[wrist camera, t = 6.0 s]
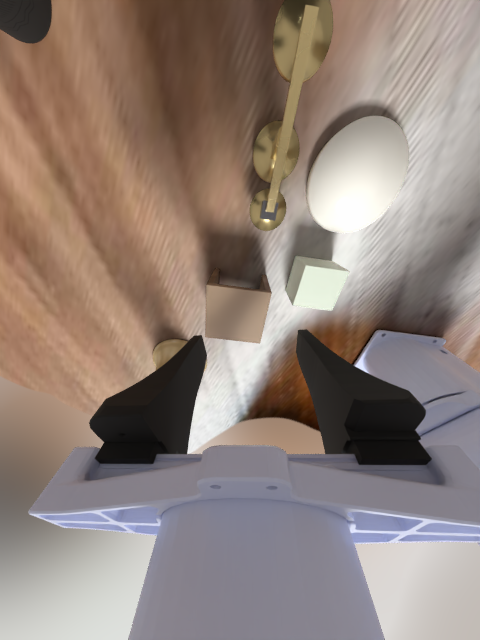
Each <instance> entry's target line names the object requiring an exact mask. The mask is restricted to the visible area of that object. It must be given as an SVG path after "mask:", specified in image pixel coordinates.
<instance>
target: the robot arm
mask: <svg viewBox="0 0 480 640" xmlns="http://www.w3.org/2000/svg"><path fill="white" fill-rule="evenodd" d="M445 342H446V340H445V339H444V338H440V337H432V336H424V335H416V334H409V333H401V332H393V331H385V330H377V331H376V332H375V333H374V335H373V336H372V338H371V339H370V341H369V342H368V344H367V345H366V347H365V348H364V350H363V351H362V353H361V354H360V356H359V357H358V359H357V360H356V362H355V363H354V365H352V364H350V363H349V362H347V361H346V360H344V359H342V358H341V357H339V356H338V355H337V354H335V353H334V352H333V351H331V350H330V349H329V348H327V347H326V346H325V345H324V344H322V343H321V342H320V341H319V340H318V339H317V338H316V337H314V336H313V335H312V334H311V333H310V332H309V331H308V330H298V337H297V347H296V353H297V357H298V361H299V365H300V367H301V370H302V373H303V375H304V378H305V380H306V383H307V385H308V388H309V391H310V394H311V397H312V400H313V404H314V408H315V411H316V415H317V419H318V423H319V427H320V432H321V436H322V440H323V445H324V449H325V454H286V452H285V451H284V450H283V449H281V448H279V447H276V446H269V445H219V446H212V447H209V448H207V449H206V450H204V451H203V454H187V450H188V442H189V435H190V428H191V422H192V416H193V411H194V405H195V400H196V396H197V392H198V389H199V386H200V383H201V379H202V376H203V373H204V369H205V365H206V358H207V354H206V350H205V346H204V342H203V338H202V335H199V336H193V337H192V338H191V339H190V340H189V341H188V342H187V343H186V344H185V345H184V346H183V347H182V348H181V349H180V350H179V351H178V352H177V353H176V354H175V355H174V356H173V357H172V358H171V359H170V360H169V361H168V362H166V363H165V364H164V365H163V366H161V367H160V368H159V369H157V370H156V371H155V372H153V373H152V374H150V375H149V376H147V377H146V378H144V379H143V380H141V381H140V382H138V383H136V384H135V385H133V386H131V387H129V388H127V389H125V390H124V391H122V392H120V393H117V394H115V395H113V396H111V397H109V398H107V399H106V400H105V401H104V402H103V404H102V405H101V406H100V408H99V409H98V410H97V412H96V413H95V414H94V416H93V417H92V418H91V420H90V423H89V424H90V428H91V429H92V430H93V432H95V434H96V435H97V436H98V437H100V439H102V440H103V441H104V444H103V446H102V447H101V449H100V448H97V447H75V448H74V449H73V451H72V452H71V454H70V455H69V456H68V458H67V459H66V460H65V462H64V463H63V465H62V466H61V467H60V469H59V470H58V472H57V473H56V474H55V476H54V477H53V478H52V480H51V481H50V482H49V484H48V485H47V486H46V488H45V489H44V491H43V492H42V493H41V495H40V496H39V498H38V499H37V500H36V502H35V503H34V505H33V506H32V507H31V509H30V510H29V511H28V512H29V514H30V515H33V516H35V517H38V518H41V519H43V520H46V521H48V522H51V523H53V524H56V525H58V526H61V527H64V528H83V529H96V530H107V531H117V532H127V533H137V534H146V535H155V536H157V538H156V541H155V545H154V549H153V552H152V556H151V559H150V563H149V566H148V570H147V574H146V577H145V581H144V584H143V588H142V592H141V595H140V599H139V602H138V606H137V610H136V613H135V617H134V620H133V624H132V628H131V631H130V635H129V638H128V640H385V639H384V636H383V632H382V629H381V626H380V623H379V620H378V617H377V613H376V611H375V608H374V604H373V601H372V598H371V595H370V592H369V588H368V585H367V582H366V579H365V576H364V573H363V570H362V567H361V563H360V560H359V558H358V554H357V551H356V548H355V545H354V544H363V543H364V544H365V543H400V542H401V543H402V542H477V543H478V544H479V546H480V373H479V372H478V371H477V370H475V369H474V368H472V367H471V366H470V365H468V364H467V363H465V362H464V361H462V360H461V359H460V358H458V357H457V356H455V355H454V354H452V353H451V352H450V351H448V350H447V349H445V348H444V347H442V346H443V345H444V344H445Z"/></svg>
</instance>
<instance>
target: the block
mask: <svg viewBox="0 0 480 640" xmlns="http://www.w3.org/2000/svg"><path fill="white" fill-rule="evenodd" d="M349 272H350V271H348V270H346V269H345V268H343V267H341V266H340V265H338V264H336V263H335V262H333V261H330V260H323V259H316V258H309V257H302V256H295V259H294V262H293V266H292V269H291V273H290V276H289V280H288V283H287V287H286V292H287V295H288V297H289V299H290V301H291V303H292V305H293V306H299V307H307V308H314V309H322V310H329V311H332V309H333V307H334V305H335V303H336V301H337V298H338V296H339V294H340V292H341V290H342V288H343V285H344V283H345V281H346V279H347V277H348V275H349Z"/></svg>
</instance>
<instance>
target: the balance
mask: <svg viewBox="0 0 480 640" xmlns="http://www.w3.org/2000/svg"><path fill="white" fill-rule="evenodd" d="M332 30H333V14H332V8H331V3H330V1H329V0H284V2H283V4H282V6H281V8H280V10H279V13H278V16H277V19H276V23H275V28H274V35H273V56H274V61H275V65H276V68H277V70H278V72H279V74H280V75H281V76H282V78H283V79H284V80H286V81H287V82H289V83H290V85H289V90H288V95H287V100H286V106H285V111H284V116H283V121H280V120H278V121H273V122H271V123H269V124H267V125H266V126H265V127H264V128H263V129H262V130H261V131H260V133H259V134H258V136H257V139H256V141H255V145H254V150H253V163H254V167H255V170H256V172H257V174H258V175H259V177H260V178H261V179H262V180H264V181H266V182H269V183H271V184H270V188H267V189H263V190H261V191H260V192H258V193H257V194H256V195H255V197H254V198H253V200H252V202H251V205H250V217H251V220H252V222H253V224H254V225H255V226H256V227H257V228H258V229H260V230H263V231H270V230H273V229H275V228H276V227H278V226H279V225H280V224H281V222H282V221H283V219H284V217H285V214H286V202H285V199H284V197H283V195H282V194H281V193H280V192H279V187H280V182H281V181H282V180H283V179H285V178H286V177H287V176H288V175H289V174H290V173H291V172H292V170H293V169H294V167H295V165H296V163H297V160H298V156H299V140H298V136H297V133H296V131H295V130H294V128H293V123H294V119H295V114H296V110H297V105H298V101H299V96H300V92H301V87H302V83H304V82H306V81H307V80H309V79H310V78H311V77H312V76H313V75H314V74H315V73H316V72H317V71H318V69H319V68H320V66H321V64H322V62H323V60H324V59H325V56H326V54H327V52H328V49H329V46H330V42H331V37H332Z"/></svg>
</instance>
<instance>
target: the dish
mask: <svg viewBox="0 0 480 640" xmlns="http://www.w3.org/2000/svg"><path fill="white" fill-rule="evenodd" d="M408 164H409V147H408V142H407V139H406V136H405V134H404V132H403V130H402V129H401V127H400V126H399V125H398V124H397V123H396V122H394V121H393V120H391V119H389V118H387V117H383V116H367V117H364V118H360V119H358V120H356V121H354V122H352V123H350V124H349V125H347V126H345V127H344V128H343V129H342V130H340V131H339V132H338V133H337V134H335V135H334V136H333V137H332V138H331V139H330V140H329V141H328V142H327V143H326V145H325V146H324V147H323V148H322V150H321V151H320V153H319V154H318V156H317V157H316V159H315V161H314V163H313V165H312V168H311V170H310V173H309V177H308V181H307V188H306V200H307V206H308V210H309V212H310V215H311V216H312V218H313V220H314V221H315V222H316V223H317V224H318V225H319V226H320V227H322V228H323V229H326V230H328V231H332V232H336V233H350V232H355V231H358V230H360V229H363V228H365V227H367V226H368V225H370V224H372V223H373V222H374V221H376V220H377V219H378V218H379V217H380V216H381V215H383V214H384V212H385V211H386V210H387V209H388V208H389V207H390V206H391V204H392V203H393V201H394V200H395V198H396V197H397V195H398V193H399V192H400V190H401V187H402V185H403V183H404V180H405V177H406V174H407V169H408Z"/></svg>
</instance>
